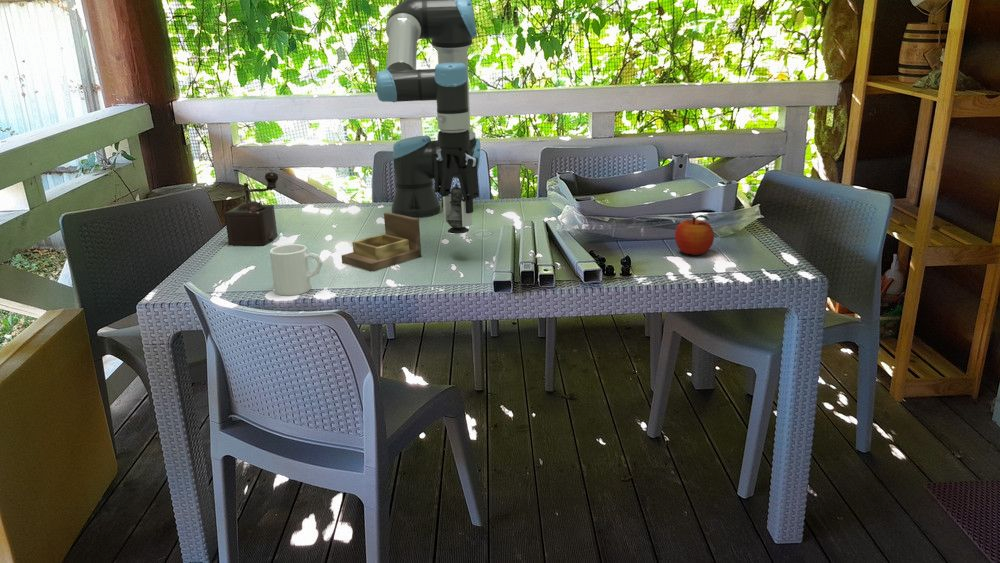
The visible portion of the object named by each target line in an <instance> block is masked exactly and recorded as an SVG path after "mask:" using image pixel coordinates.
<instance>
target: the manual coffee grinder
mask: <svg viewBox="0 0 1000 563" xmlns="http://www.w3.org/2000/svg"><path fill="white" fill-rule="evenodd" d="M264 179H265V181H266V183H267V185H266V188H249V183H247V182H244V183H243V192H244V194H245V198H246V200H245V202H242V203H241V204H238V206H236V207H234V208H232V209H230V210H228V211H226V212H224V219H225V226H226V234H227V240H228V246H229V245H233V246H232V247H264V246H266V245H268V244H269V243H271V242H273V241H274V240H275V239H276V238H277V237H278V236H279V234H278V230H277V228H278V227H277V221H276V213H275V205H274V204H263V203H262V202H261V201H259V202H258V201H256V200H253V201H252V200H251V198H250V197H251V196H250V193H255V192H256V193H261V192H262V193H264V192H267V191H272V190H274V189H277V188H278V187H277V182H278V180H279V174H277V173H276V172H271V171H269V172H266V173H265V175H264Z"/></svg>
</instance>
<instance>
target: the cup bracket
mask: <svg viewBox="0 0 1000 563" xmlns="http://www.w3.org/2000/svg"><path fill="white" fill-rule="evenodd" d="M383 222H384V232H385V233H382V234H378V235H377V234H376V235H374V236H370V237H366V238H363V239H358V240H356V241H354V240H353V241H352V242H351V243H352V252H349V253H346V254H342V255H341V256H340V257H341V263H342V264H344V265H347V266H350V267H351V266H352V267H354V268H358V269H362V270H364V269H365V271H368V272H371V271H373V272H376V271H379V270H382V269H385V268H389V267H393V266H396V265H399V264H402V263H406V262H408V261H411V260H414V259H419V258H422V248H421V247H422V246H421V244H422V243H421V232H420V230H421V229H420V218H419V217H417V218H413V217H408V216H404V215H399V214H394V213H392V212H389V211H388V212H384V213H383Z"/></svg>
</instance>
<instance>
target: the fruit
mask: <svg viewBox="0 0 1000 563" xmlns="http://www.w3.org/2000/svg"><path fill="white" fill-rule="evenodd" d="M698 218H702V219H704V220H707V221H709V220H710V218H709V217H708V216H707V215H705V214H699V215H697V216H696V217H694V216H692V219H687V220H682V221H681V222H680V223H679V224H677V226H676V228H675V231H674V239H675V244H676V246H677V248H678V249H679V251H680V252H682V253H683V254H685V253H686V254H685V255H688V254H692V255H691V256H698V255H697V254H702V255H704V254H706V253H707V252H708V251H709V250H710V249H711V248H712V246H713V243H714V239H715V233H714V230H713V227H712V226H711V224H710V223H708V222H706V221H704V220H699V219H698ZM703 253H704V254H703ZM693 254H694V255H693Z"/></svg>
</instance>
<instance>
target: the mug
mask: <svg viewBox="0 0 1000 563" xmlns="http://www.w3.org/2000/svg"><path fill="white" fill-rule="evenodd" d="M269 257H270V258H269V259H270V265H271V267H270V268H271V273H272V281H273V289H274V293H275V294H277V295H279V296H287V297H289V296H299V295H302V294H305V293H307V292H309V291H310V290H311V288H312V283H311V278H313V277H315V276H316V275H319V274H320V272H321V269H322V267H323V264H324V261H323V260H322V258H321V257H320V256H319V254H317V253H314V252H310V253H308V248H307V246H305V245H304V244H298V243H288V244H287V243H286V244H282V245H277V246H274V247H272V248H271V249H270V250H269ZM309 258H311V259H314V260H315V261H316V263H317V265H316V267H315V270H313V271H312V272H310V264H309Z"/></svg>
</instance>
